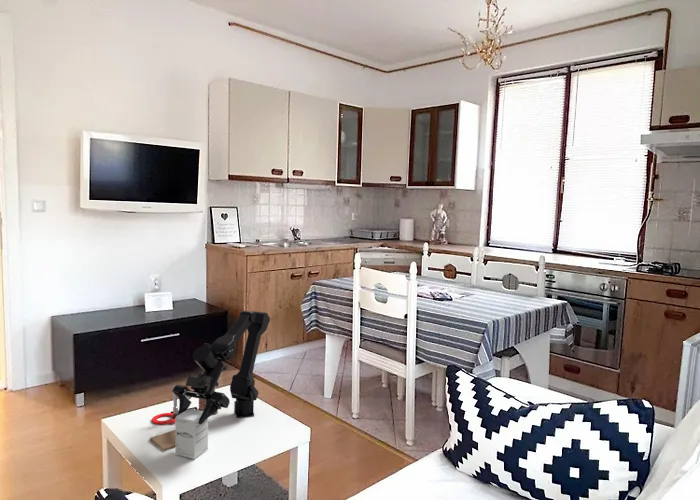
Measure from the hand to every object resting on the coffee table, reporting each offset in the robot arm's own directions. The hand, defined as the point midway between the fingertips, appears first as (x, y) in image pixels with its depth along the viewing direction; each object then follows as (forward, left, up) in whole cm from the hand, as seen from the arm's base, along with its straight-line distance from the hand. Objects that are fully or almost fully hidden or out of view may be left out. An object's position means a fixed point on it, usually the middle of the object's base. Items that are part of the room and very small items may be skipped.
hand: (189, 421), depth 155 cm
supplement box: (-1, -1, -11) cm, 11 cm away
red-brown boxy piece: (-8, -31, -11) cm, 34 cm away
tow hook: (+7, -28, -11) cm, 31 cm away
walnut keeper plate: (+5, -11, -11) cm, 16 cm away
